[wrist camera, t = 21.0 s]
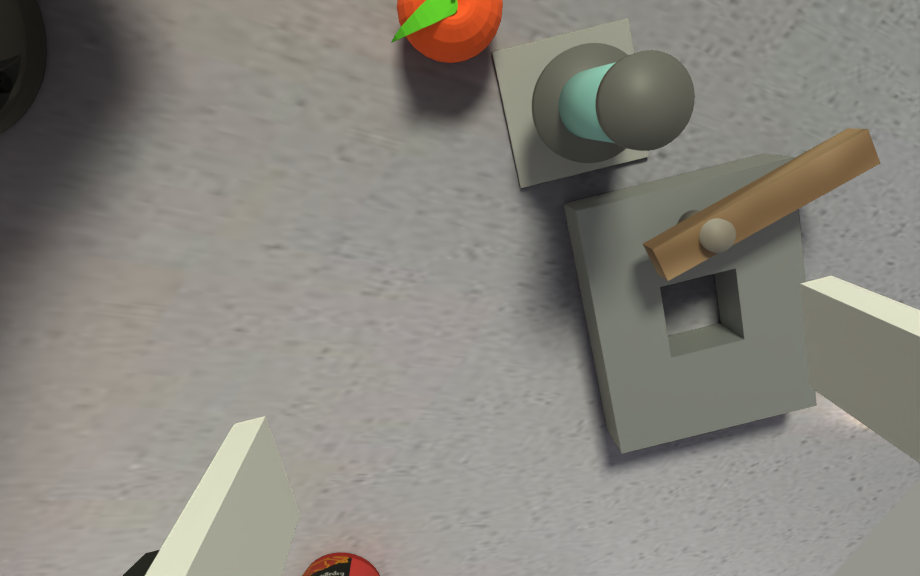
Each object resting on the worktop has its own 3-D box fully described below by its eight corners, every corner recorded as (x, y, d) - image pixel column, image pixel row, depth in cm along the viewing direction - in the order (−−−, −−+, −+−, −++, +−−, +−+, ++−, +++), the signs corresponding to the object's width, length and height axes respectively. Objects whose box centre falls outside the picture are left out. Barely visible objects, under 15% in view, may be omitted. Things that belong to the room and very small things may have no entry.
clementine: (420, 93, 46) (420, 90, 40) (366, 5, 45) (357, -15, 38) (514, 32, 46) (531, 18, 39) (463, -60, 44) (472, -92, 37)
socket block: (607, 429, 55) (621, 453, 51) (563, 203, 49) (575, 211, 45) (788, 384, 55) (816, 405, 51) (764, 153, 49) (794, 157, 45)
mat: (520, 187, 49) (521, 188, 48) (491, 52, 46) (492, 51, 46) (647, 156, 49) (649, 156, 48) (626, 18, 46) (628, 17, 46)
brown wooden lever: (634, 239, 46) (656, 251, 42) (831, 127, 45) (874, 129, 41) (648, 268, 47) (671, 283, 42) (843, 159, 45) (886, 163, 41)
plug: (532, 168, 48) (586, 194, 33) (511, 64, 46) (558, 40, 31) (630, 144, 48) (730, 158, 33) (614, 39, 46) (711, 2, 31)
